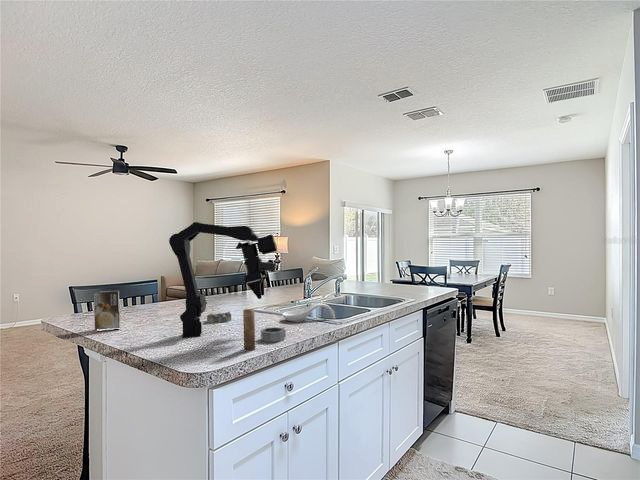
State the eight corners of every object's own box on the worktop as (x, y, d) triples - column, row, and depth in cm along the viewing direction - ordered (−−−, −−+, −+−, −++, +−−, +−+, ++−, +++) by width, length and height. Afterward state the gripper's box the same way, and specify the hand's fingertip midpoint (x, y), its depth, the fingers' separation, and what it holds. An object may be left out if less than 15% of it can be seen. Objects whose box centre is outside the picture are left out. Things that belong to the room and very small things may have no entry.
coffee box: (120, 327, 163) (120, 289, 163) (119, 330, 157) (119, 291, 157) (96, 329, 159) (95, 291, 159) (94, 332, 153) (93, 293, 153)
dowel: (244, 351, 122) (244, 311, 122) (243, 348, 125) (242, 309, 125) (255, 350, 123) (255, 310, 123) (254, 347, 127) (253, 308, 127)
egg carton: (207, 324, 166) (207, 315, 166) (206, 321, 173) (206, 312, 173) (232, 322, 170) (231, 313, 170) (230, 318, 177) (230, 310, 177)
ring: (263, 343, 132) (263, 333, 132) (259, 337, 140) (259, 328, 140) (287, 340, 134) (287, 331, 134) (281, 335, 142) (281, 326, 142)
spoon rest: (283, 324, 163) (283, 307, 163) (281, 319, 174) (281, 303, 174) (337, 321, 167) (336, 305, 167) (331, 316, 179) (331, 301, 179)
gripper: (269, 253, 137) (279, 295, 137) (274, 251, 155) (283, 288, 155) (239, 261, 136) (249, 302, 136) (247, 258, 155) (257, 295, 155)
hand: (261, 297), depth 146 cm, fingers open, 9 cm apart
